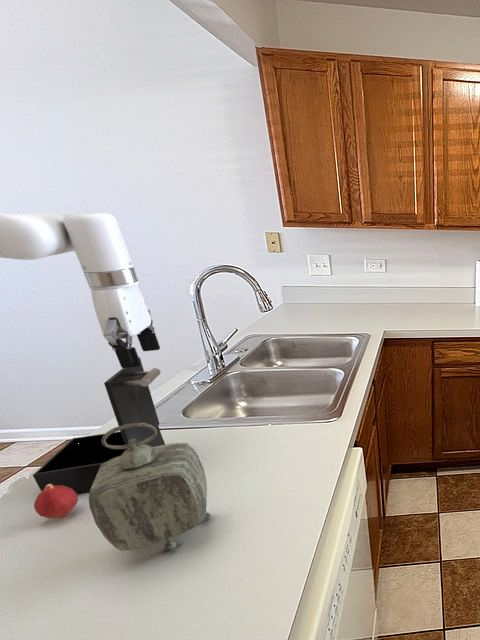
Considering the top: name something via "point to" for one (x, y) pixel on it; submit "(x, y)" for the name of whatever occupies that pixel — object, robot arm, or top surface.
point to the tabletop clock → (148, 493)
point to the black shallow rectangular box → (83, 461)
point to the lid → (133, 401)
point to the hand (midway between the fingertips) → (142, 358)
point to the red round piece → (55, 501)
